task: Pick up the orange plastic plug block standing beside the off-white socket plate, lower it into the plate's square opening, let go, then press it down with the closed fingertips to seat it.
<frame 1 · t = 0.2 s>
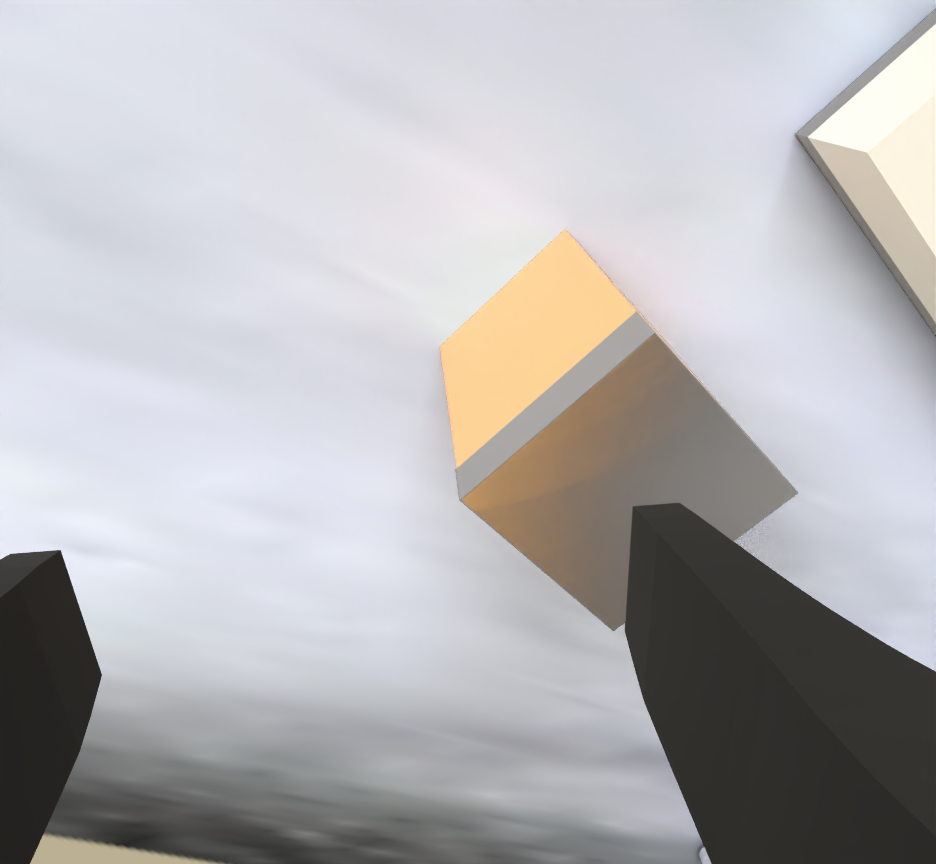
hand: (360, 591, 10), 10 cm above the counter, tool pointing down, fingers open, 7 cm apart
plug: (555, 345, 19), on the counter
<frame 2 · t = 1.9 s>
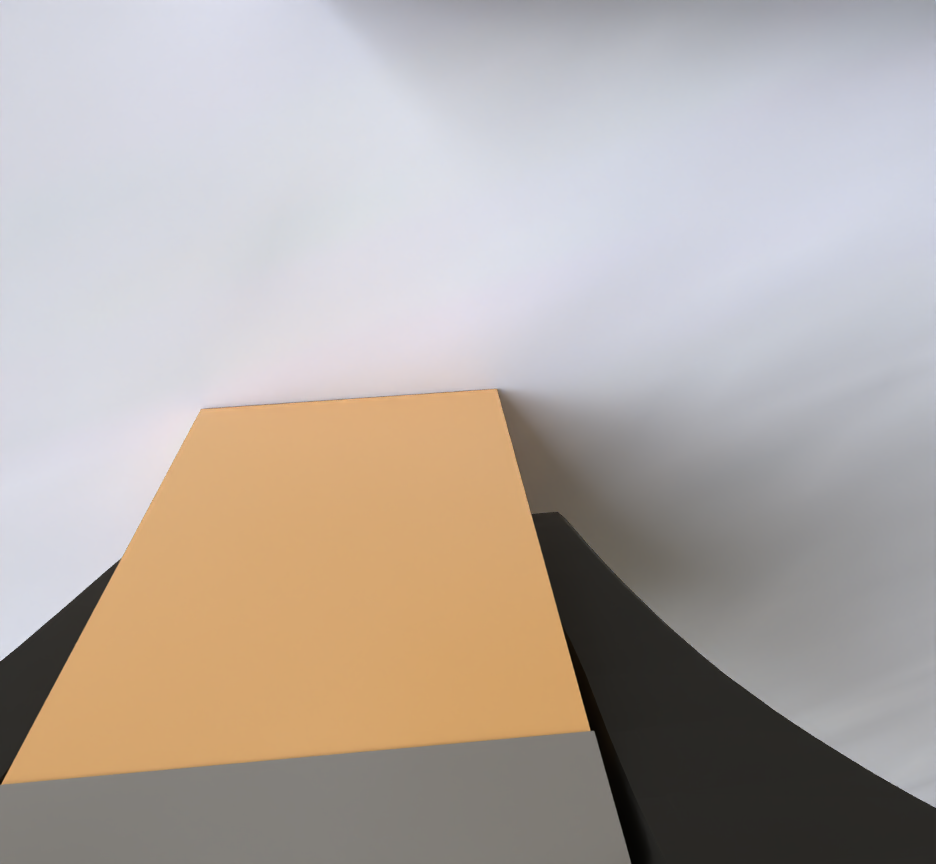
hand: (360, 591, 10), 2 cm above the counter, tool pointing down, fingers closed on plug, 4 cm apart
plug: (364, 522, 12), on the counter, touching gripper
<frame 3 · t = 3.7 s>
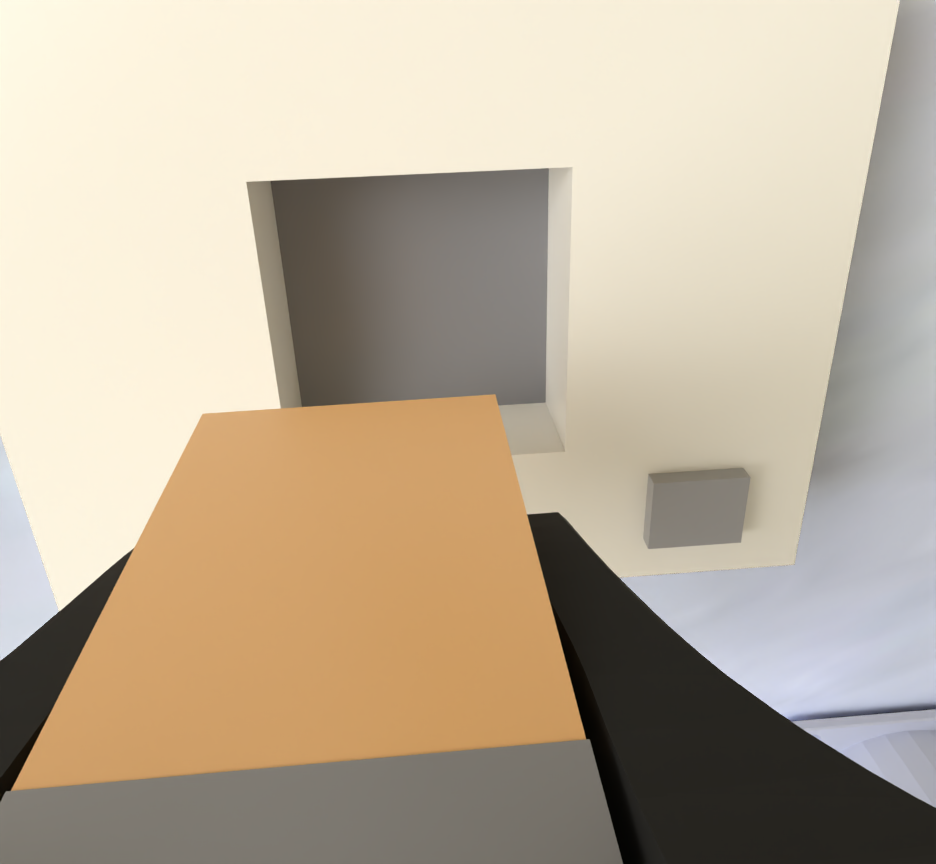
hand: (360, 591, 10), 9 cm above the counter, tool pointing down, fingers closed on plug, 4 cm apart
plug: (364, 525, 12), point 7 cm above the counter, touching gripper
socket: (417, 284, 17), on the counter
when the fingers open (4 cm above the counter, at t = 5.7 s): plug drops 2 cm, resting on socket.
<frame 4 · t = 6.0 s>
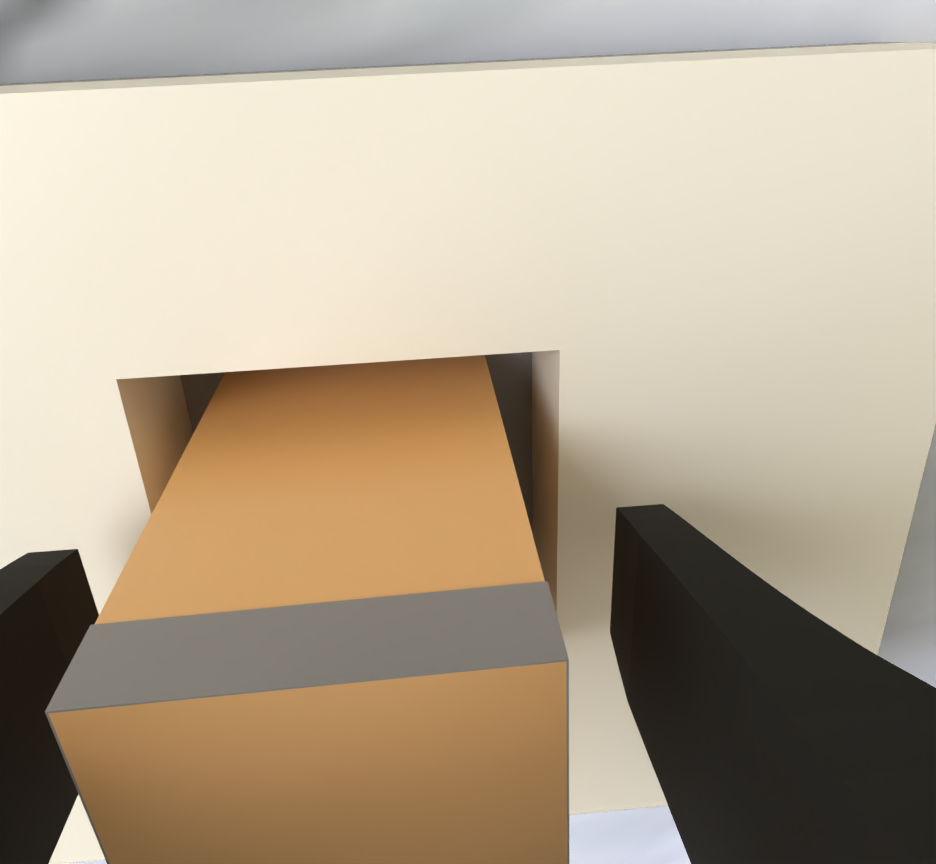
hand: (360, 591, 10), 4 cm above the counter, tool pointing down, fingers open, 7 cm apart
plug: (370, 469, 13), point 1 cm above the counter, touching socket
socket: (370, 447, 14), on the counter
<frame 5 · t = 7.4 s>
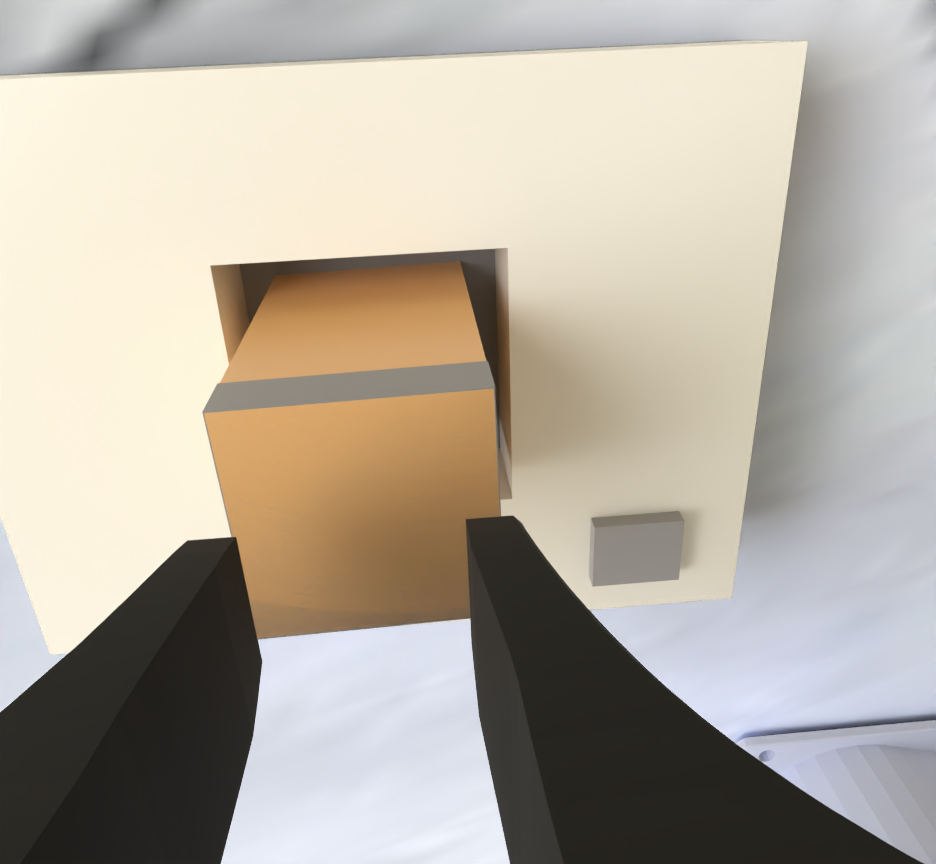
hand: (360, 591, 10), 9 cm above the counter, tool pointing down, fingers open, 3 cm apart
plug: (378, 354, 18), point 1 cm above the counter, touching socket
socket: (378, 340, 19), on the counter
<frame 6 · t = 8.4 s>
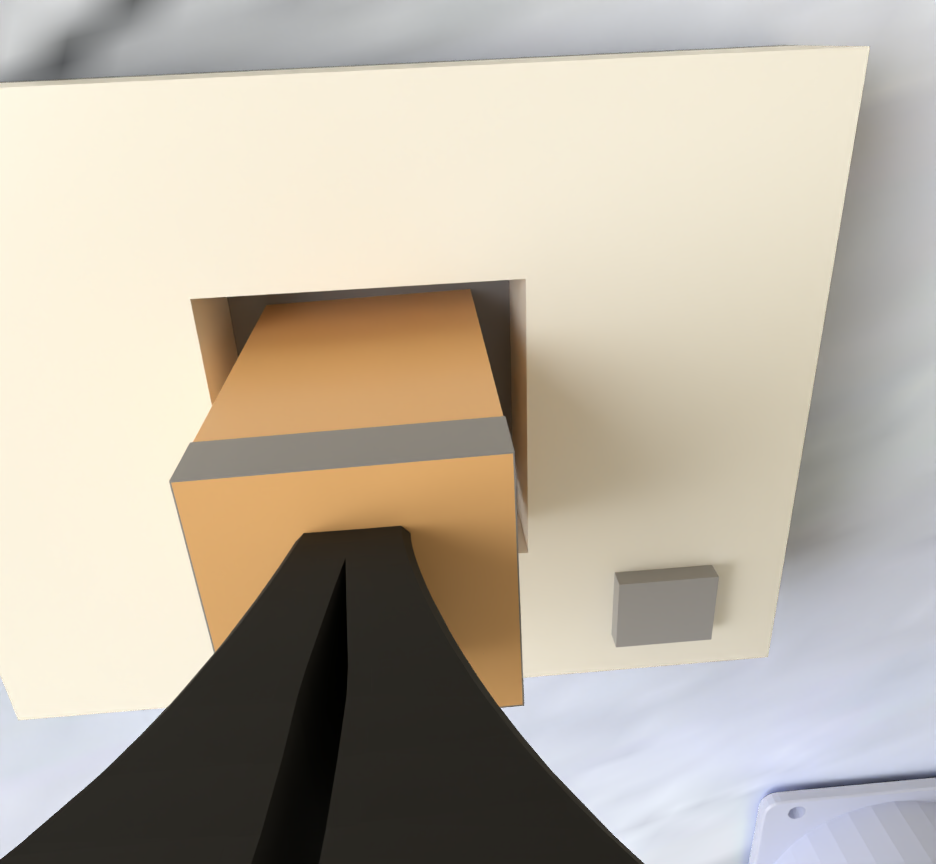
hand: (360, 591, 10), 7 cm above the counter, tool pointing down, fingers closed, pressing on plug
plug: (379, 390, 16), point 1 cm above the counter, touching gripper, socket
socket: (379, 374, 17), on the counter
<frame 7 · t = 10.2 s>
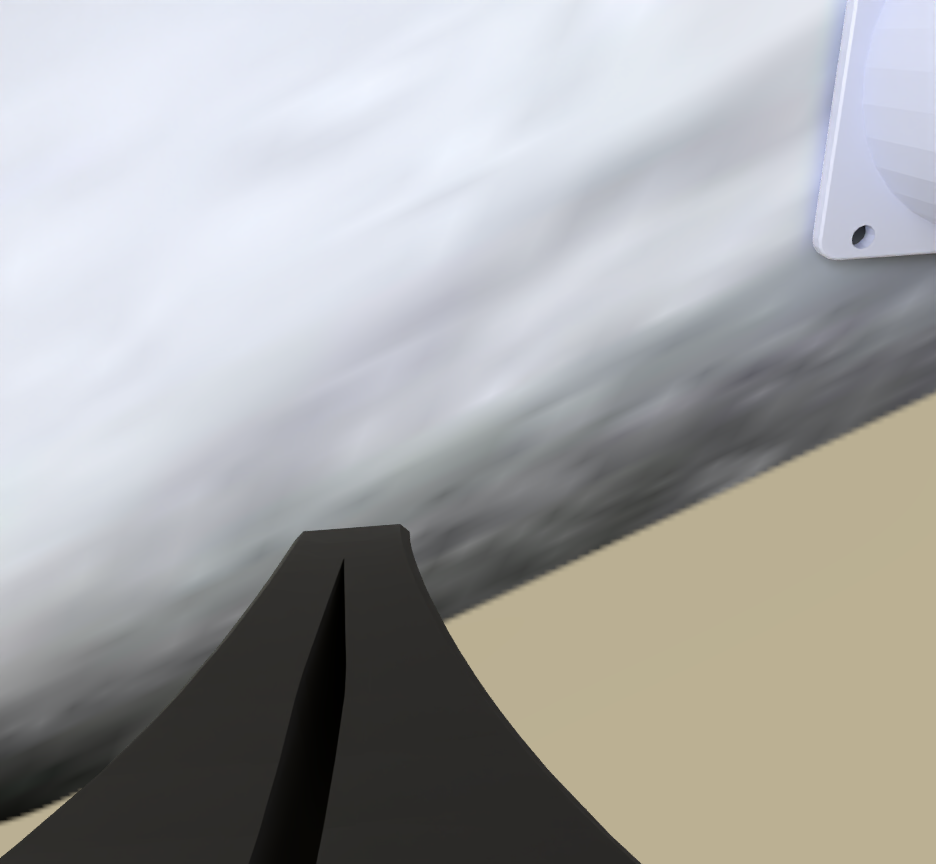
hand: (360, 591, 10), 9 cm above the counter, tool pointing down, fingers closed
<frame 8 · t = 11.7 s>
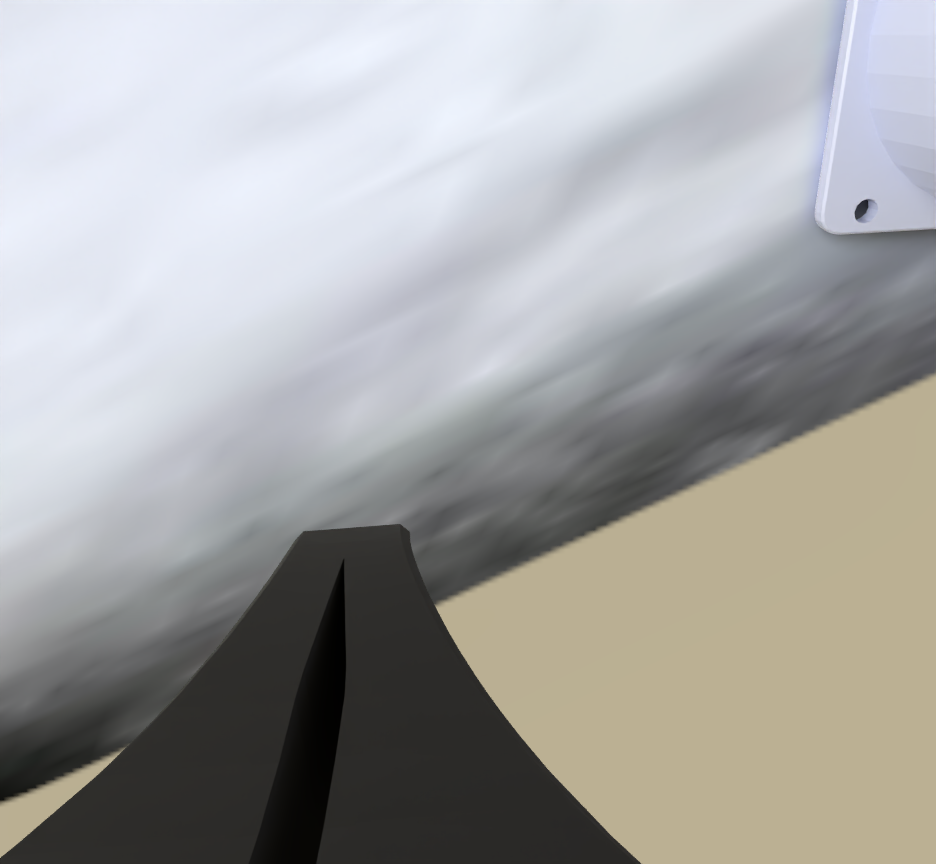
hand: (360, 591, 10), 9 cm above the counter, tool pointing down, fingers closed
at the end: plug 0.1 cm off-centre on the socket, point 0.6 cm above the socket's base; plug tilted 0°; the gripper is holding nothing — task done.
